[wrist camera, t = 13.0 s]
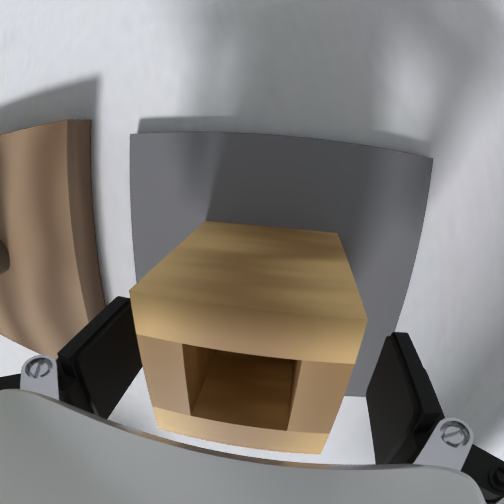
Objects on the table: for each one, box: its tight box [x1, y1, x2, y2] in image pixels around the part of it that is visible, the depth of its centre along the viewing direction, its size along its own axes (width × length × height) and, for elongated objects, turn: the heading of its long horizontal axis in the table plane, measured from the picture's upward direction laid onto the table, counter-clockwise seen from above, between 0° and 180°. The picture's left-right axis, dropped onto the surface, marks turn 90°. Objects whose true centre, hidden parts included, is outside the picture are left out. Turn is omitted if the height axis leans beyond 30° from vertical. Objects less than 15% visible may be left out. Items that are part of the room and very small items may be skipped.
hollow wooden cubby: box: [129, 221, 368, 454], centre depth 11 cm, size 6×6×7 cm
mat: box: [130, 132, 433, 397], centre depth 15 cm, size 14×14×1 cm
